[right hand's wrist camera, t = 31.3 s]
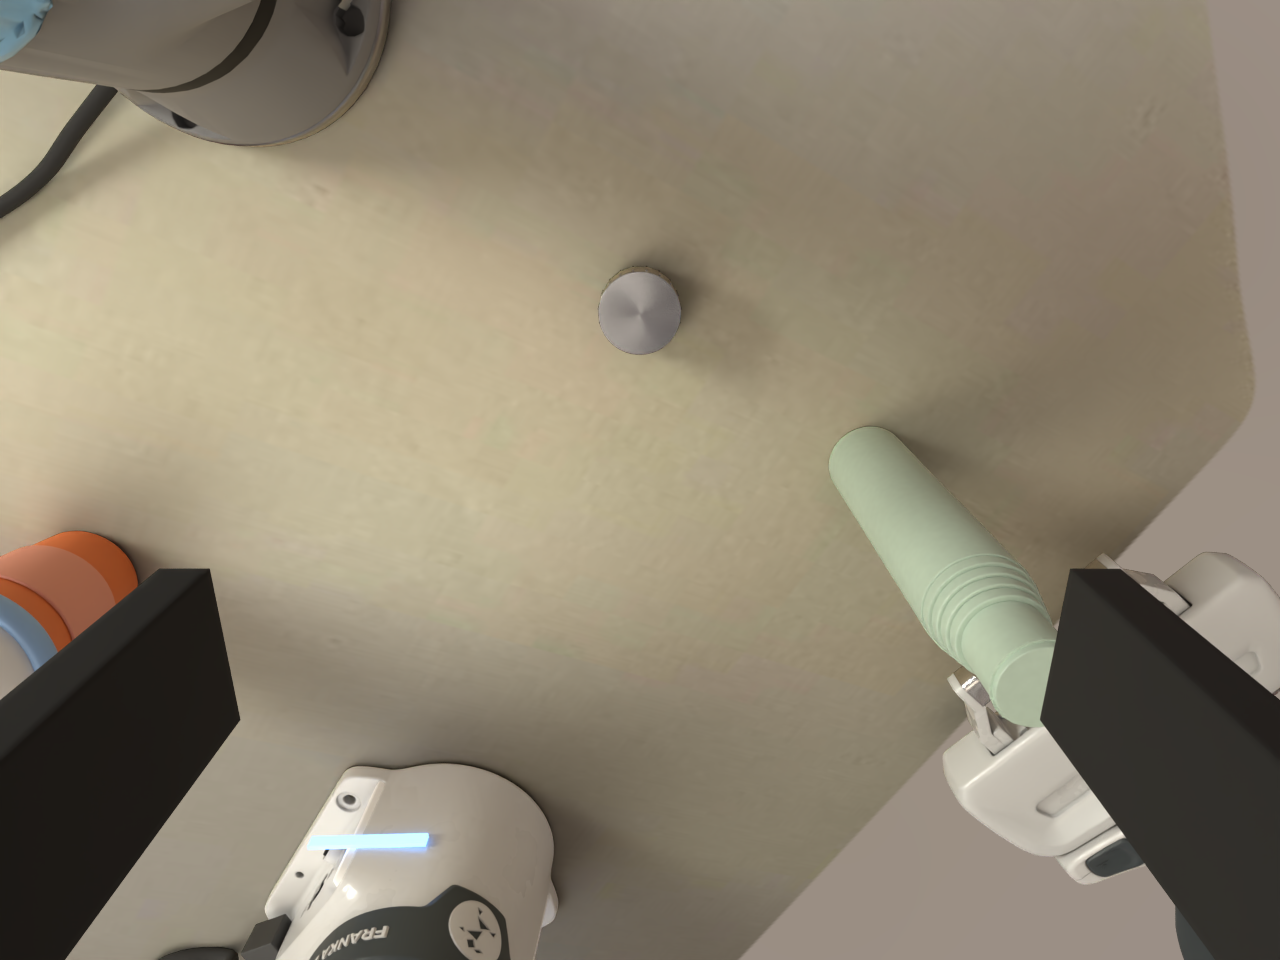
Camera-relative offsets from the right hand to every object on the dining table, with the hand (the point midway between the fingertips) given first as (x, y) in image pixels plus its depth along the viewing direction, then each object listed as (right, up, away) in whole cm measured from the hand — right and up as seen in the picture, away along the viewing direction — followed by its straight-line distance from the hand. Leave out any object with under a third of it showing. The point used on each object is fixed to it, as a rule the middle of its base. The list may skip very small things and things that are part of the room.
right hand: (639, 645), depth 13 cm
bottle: (+14, +4, +36) cm, 39 cm away
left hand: (+21, -5, +32) cm, 39 cm away
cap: (0, +11, +31) cm, 33 cm away
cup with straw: (-34, -3, +39) cm, 52 cm away
